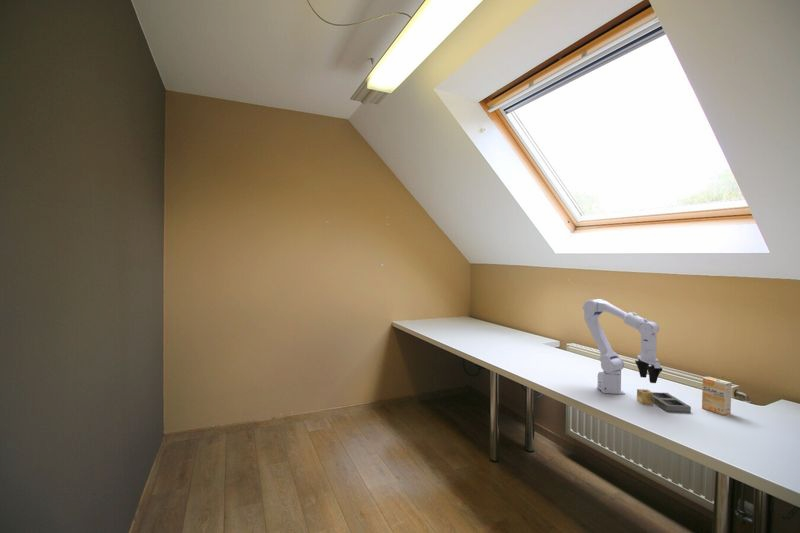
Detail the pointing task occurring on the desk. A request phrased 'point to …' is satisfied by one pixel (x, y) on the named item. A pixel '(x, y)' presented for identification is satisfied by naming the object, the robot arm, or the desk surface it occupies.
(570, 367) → the desk surface
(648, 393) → the nut block
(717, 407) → the supplement box
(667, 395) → the grey metal flat frame
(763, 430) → the desk surface
